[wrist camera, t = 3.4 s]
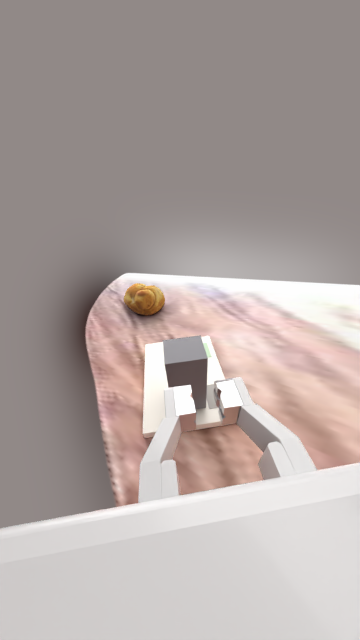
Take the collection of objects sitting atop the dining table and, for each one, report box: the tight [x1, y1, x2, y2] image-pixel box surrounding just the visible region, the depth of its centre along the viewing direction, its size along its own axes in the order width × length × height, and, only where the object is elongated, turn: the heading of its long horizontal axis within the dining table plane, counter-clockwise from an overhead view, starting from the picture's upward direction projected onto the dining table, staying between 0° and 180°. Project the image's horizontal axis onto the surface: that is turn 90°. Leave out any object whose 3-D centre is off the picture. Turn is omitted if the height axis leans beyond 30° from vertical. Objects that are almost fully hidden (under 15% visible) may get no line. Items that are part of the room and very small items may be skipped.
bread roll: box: [124, 283, 165, 315], centre depth 53 cm, size 13×10×8 cm
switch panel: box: [143, 336, 235, 438], centre depth 34 cm, size 18×14×2 cm
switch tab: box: [163, 335, 208, 409], centre depth 26 cm, size 4×5×11 cm
